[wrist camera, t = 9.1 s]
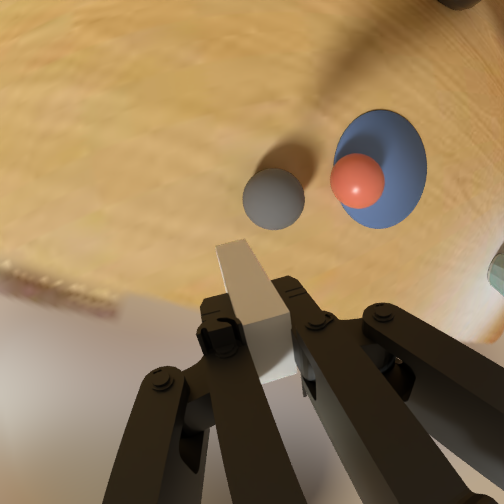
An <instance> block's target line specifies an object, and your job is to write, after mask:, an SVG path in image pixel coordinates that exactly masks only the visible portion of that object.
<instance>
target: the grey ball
mask: <svg viewBox="0 0 504 504" xmlns="http://www.w3.org/2000/svg"><path fill="white" fill-rule="evenodd" d="M304 203H305V196H304V191H303V188H302V186H301V184H300V182H299V181H298V180H297V178H295V177H294V176H293V175H292V174H291V173H289V172H287V171H285V170H282V169H276V168H271V169H265V170H262V171H260V172H258V173H256V174H255V175H254V176H253V177H251V179H250V180H249V181H248V183H247V184H246V186H245V189H244V192H243V206H244V209H245V212H246V214H247V216H248V217H249V218H250V220H251V221H252V222H254V223H255V224H256V225H258V226H259V227H262V228H264V229H269V230H279V229H283V228H286V227H288V226H290V225H292V224H293V223H294V222H295V221H296V220H297V219H298V218H299V217H300V215H301V213H302V211H303V208H304Z"/></svg>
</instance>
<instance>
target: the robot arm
mask: <svg viewBox="0 0 504 504" xmlns="http://www.w3.org/2000/svg"><path fill="white" fill-rule="evenodd" d="M438 1H439V2H441V3H442V4H444V5H445V6H447V7H449V8H451V9H453V10H464V9H469V8H471V7H473V6H474V5H476V4H477V3H478V2H480V1H481V0H438ZM215 249H216V253H217V257H218V261H219V265H220V269H221V273H222V277H223V281H224V285H225V289H226V293H225V294H221V295H217V296H213V297H209V298H205V299H204V300H203V302H202V304H201V306H200V311H201V319H202V324H201V325H200V326H199V327H198V329H197V333H196V336H197V338H198V341H199V344H200V346H201V349H202V352H203V354H204V356H203V357H202V359H201V360H200V361H199V362H198V363H196V364H195V365H193V366H192V367H190V368H188V369H186V370H184V371H182V372H181V370H180V369H177V368H176V367H172V366H164V367H159V368H157V369H155V370H152V371H151V372H150V373H149V374H147V375H146V376H145V378H144V380H143V381H142V383H141V386H140V389H139V391H138V394H137V397H136V400H135V403H134V405H133V408H132V411H131V414H130V417H129V420H128V423H127V426H126V428H125V431H124V434H123V437H122V441H121V444H120V446H119V450H118V453H117V456H116V459H115V462H114V465H113V468H112V472H111V475H110V479H109V482H108V485H107V489H106V492H105V496H104V499H103V503H102V504H201V498H202V489H203V481H204V472H205V464H206V456H207V448H208V440H209V432H210V427H212V426H214V425H215V424H216V429H217V434H218V439H219V444H220V449H221V454H222V459H223V464H224V468H225V473H226V477H227V481H228V486H229V490H230V494H231V498H232V502H233V504H307V502H306V499H305V497H304V495H303V492H302V490H301V487H300V485H299V482H298V480H297V477H296V475H295V472H294V470H293V467H292V465H291V462H290V460H289V457H288V454H287V452H286V449H285V447H284V444H283V441H282V439H281V436H280V433H279V431H278V428H277V426H276V423H275V420H274V418H273V415H272V412H271V409H270V407H269V404H268V401H267V398H266V396H265V393H264V390H263V387H262V385H261V384H264V383H268V382H271V381H275V380H278V379H281V378H284V377H287V376H291V375H294V374H297V368H296V365H297V366H298V368H299V370H300V372H301V379H302V390H303V396H304V397H306V396H307V394H308V396H309V398H310V400H311V402H312V404H313V406H314V408H315V410H316V412H317V414H318V416H319V418H320V420H321V422H322V424H323V426H324V428H325V430H326V432H327V434H328V436H329V438H330V440H331V442H332V444H333V446H334V448H335V450H336V452H337V454H338V456H339V458H340V460H341V462H342V464H343V466H344V468H345V470H346V471H347V473H348V475H349V477H350V479H351V481H352V483H353V485H354V487H355V489H356V491H357V493H358V495H359V497H360V499H361V500H362V502H363V504H498V503H497V502H496V501H495V500H494V499H493V498H491V497H489V496H487V495H484V494H476V493H474V492H472V491H471V490H470V489H469V488H468V487H467V486H466V484H465V483H464V482H463V480H462V479H461V477H460V476H459V475H458V473H457V472H456V471H455V469H454V468H453V467H452V465H451V464H450V462H449V461H448V460H447V458H446V457H445V456H444V454H443V453H442V452H441V450H440V449H439V447H438V446H437V445H436V444H435V442H434V441H433V439H432V438H431V437H430V435H431V436H432V437H433V438H435V439H436V440H437V441H438V442H440V443H441V444H442V445H444V446H445V447H446V448H447V449H449V450H450V451H451V452H453V453H454V454H455V455H456V456H458V457H459V458H461V459H462V460H463V461H464V462H466V463H467V464H468V465H470V466H471V467H472V468H474V469H475V470H476V471H478V472H479V473H480V474H482V475H483V476H484V477H486V478H487V479H489V480H490V481H491V482H493V483H494V484H496V485H497V486H498V487H500V488H501V489H502V490H504V368H503V367H501V366H500V365H498V364H496V363H495V362H493V361H491V360H490V359H488V358H486V357H485V356H483V355H481V354H480V353H478V352H476V351H474V350H473V349H471V348H469V347H468V346H466V345H464V344H462V343H461V342H459V341H457V340H456V339H454V338H452V337H450V336H449V335H447V334H445V333H443V332H442V331H440V330H438V329H436V328H435V327H433V326H431V325H429V324H428V323H426V322H424V321H422V320H421V319H419V318H417V317H415V316H414V315H412V314H410V313H408V312H406V311H405V310H403V309H401V308H399V307H398V306H395V305H393V304H390V303H375V304H373V305H370V306H368V307H367V308H366V309H365V310H364V312H363V316H362V318H359V319H351V320H339V319H338V318H337V317H336V316H335V315H333V314H332V313H330V312H327V311H322V310H321V309H320V308H319V306H318V305H317V304H316V303H315V301H314V300H313V299H312V297H311V296H310V295H309V294H308V293H307V291H306V290H305V289H304V288H303V286H302V285H301V283H300V282H299V281H298V280H297V279H295V278H293V277H291V276H285V277H281V278H278V279H274V280H270V279H269V277H268V276H267V274H266V272H265V271H264V269H263V267H262V266H261V264H260V262H259V261H258V259H257V258H256V256H255V254H254V253H253V251H252V249H251V248H250V246H249V244H248V243H247V241H246V240H245V239H241V240H237V241H233V242H229V243H225V244H221V245H217V246H215ZM396 357H397V358H396ZM398 358H399V359H400V360H399V359H398ZM401 360H402V361H401ZM306 392H307V394H306Z"/></svg>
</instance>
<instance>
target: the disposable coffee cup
mask: <svg viewBox="0 0 504 504" xmlns="http://www.w3.org/2000/svg"><path fill="white" fill-rule="evenodd" d="M488 281H489V282H490V284H491V285H492V286H493V287H494V288H495V289H496V290H497V291H498V292H500V293H501V294H502V295H503V296H504V254H498V255H496V256H495V257H494V259H493V261H492V262H491V265H490V268H489V270H488Z"/></svg>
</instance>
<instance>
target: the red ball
mask: <svg viewBox="0 0 504 504" xmlns="http://www.w3.org/2000/svg"><path fill="white" fill-rule="evenodd" d="M330 183H331V188H332V191H333V193H334V195H335V196H336V198H337V199H338V200H339V201H340V202H341V203H343V204H344V205H346V206H348V207H351V208H356V209H362V208H366V207H369V206H371V205H373V204H374V203H376V202H377V201H378V200H379V198H380V197H381V195H382V193H383V190H384V186H385V178H384V174H383V171H382V169H381V167H380V166H379V164H378V163H377V162H376V161H375V160H374V159H372V158H371V157H369V156H367V155H364V154H359V153H353V154H349V155H346V156H344V157H342V158H341V159H340V160H338V161H337V163H336V164H335V165H334V167H333V169H332V172H331V177H330Z"/></svg>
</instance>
